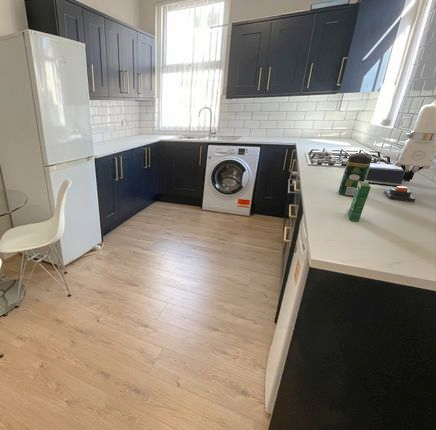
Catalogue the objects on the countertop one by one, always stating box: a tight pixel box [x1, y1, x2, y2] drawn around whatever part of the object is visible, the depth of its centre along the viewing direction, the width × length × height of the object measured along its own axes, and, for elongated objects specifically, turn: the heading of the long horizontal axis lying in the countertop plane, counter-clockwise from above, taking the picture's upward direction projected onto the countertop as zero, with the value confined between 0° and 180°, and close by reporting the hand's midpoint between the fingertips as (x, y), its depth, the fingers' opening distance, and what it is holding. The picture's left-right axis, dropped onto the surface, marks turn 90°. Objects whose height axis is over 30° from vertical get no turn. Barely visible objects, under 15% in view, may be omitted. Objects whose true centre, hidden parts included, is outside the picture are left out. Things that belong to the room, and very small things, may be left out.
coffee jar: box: [338, 152, 373, 197], centre depth 125 cm, size 10×8×19 cm
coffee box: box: [347, 181, 372, 222], centre depth 100 cm, size 8×3×13 cm, turn 145°
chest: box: [364, 168, 404, 188], centre depth 144 cm, size 14×12×8 cm
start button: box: [395, 185, 409, 192], centre depth 122 cm, size 4×4×2 cm
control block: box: [383, 187, 416, 203], centre depth 123 cm, size 10×8×4 cm
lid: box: [369, 162, 404, 171], centre depth 142 cm, size 14×12×1 cm
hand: (405, 180), depth 120 cm, fingers closed
